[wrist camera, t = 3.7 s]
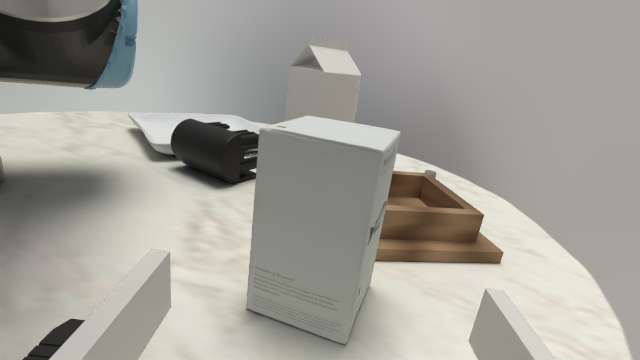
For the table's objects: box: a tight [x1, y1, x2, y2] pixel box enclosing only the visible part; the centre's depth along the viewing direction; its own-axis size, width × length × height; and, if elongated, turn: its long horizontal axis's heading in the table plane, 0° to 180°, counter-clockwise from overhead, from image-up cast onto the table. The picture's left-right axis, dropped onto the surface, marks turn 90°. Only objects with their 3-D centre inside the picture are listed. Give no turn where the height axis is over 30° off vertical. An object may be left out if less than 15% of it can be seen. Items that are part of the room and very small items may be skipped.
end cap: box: [171, 118, 259, 184], centre depth 47 cm, size 10×7×7 cm
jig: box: [375, 170, 503, 263], centre depth 40 cm, size 16×16×4 cm
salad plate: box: [128, 113, 261, 155], centre depth 63 cm, size 21×21×3 cm
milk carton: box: [286, 36, 361, 123], centre depth 51 cm, size 7×7×19 cm
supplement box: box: [246, 116, 401, 344], centre depth 24 cm, size 7×7×13 cm
